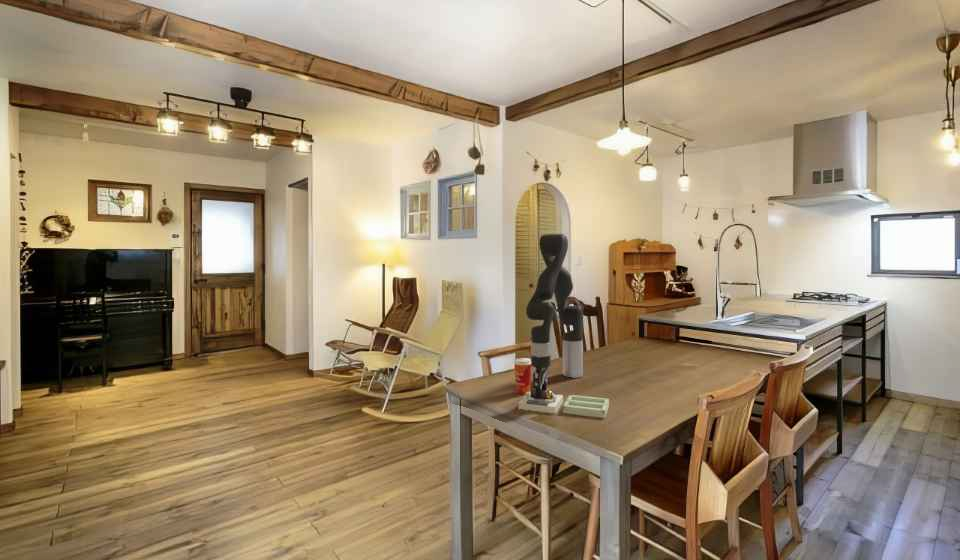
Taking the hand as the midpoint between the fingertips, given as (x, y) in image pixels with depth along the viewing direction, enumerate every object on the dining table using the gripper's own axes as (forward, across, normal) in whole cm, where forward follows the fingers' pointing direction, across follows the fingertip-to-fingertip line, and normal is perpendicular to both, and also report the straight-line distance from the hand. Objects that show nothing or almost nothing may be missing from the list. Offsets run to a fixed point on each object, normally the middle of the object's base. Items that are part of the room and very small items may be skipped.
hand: (541, 395), depth 175 cm
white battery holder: (+4, 0, 0) cm, 4 cm away
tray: (+4, -1, +17) cm, 17 cm away
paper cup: (+4, -13, -11) cm, 18 cm away
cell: (+1, 0, 0) cm, 1 cm away
